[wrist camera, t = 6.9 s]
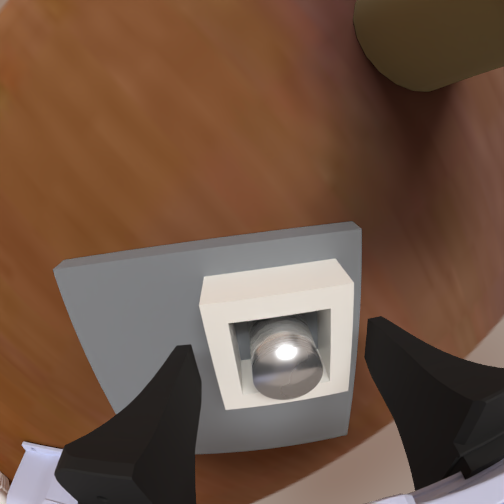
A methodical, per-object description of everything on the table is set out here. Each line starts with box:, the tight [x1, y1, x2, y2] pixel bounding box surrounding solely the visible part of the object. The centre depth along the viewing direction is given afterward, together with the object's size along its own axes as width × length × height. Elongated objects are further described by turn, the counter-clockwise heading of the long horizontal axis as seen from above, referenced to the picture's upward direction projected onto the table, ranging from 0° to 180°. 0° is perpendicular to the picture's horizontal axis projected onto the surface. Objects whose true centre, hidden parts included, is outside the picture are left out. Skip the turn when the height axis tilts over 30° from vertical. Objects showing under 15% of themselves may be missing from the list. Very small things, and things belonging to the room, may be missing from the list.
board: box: [53, 221, 362, 454], centre depth 16 cm, size 14×14×1 cm
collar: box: [199, 259, 354, 410], centre depth 13 cm, size 6×6×2 cm
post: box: [248, 313, 323, 400], centre depth 13 cm, size 3×3×4 cm
